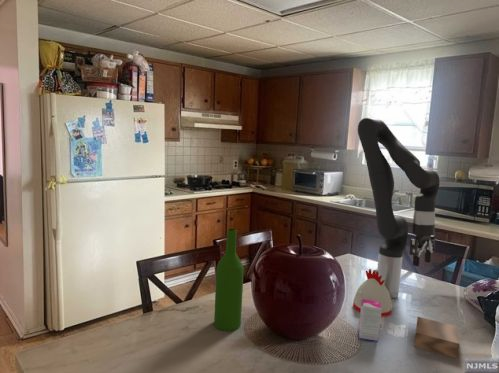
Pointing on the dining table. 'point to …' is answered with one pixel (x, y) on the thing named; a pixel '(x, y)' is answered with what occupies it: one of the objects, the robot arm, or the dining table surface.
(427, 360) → the dining table surface
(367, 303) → the supplement box
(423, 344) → the walnut block
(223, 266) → the wine bottle
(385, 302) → the kitchen timer
